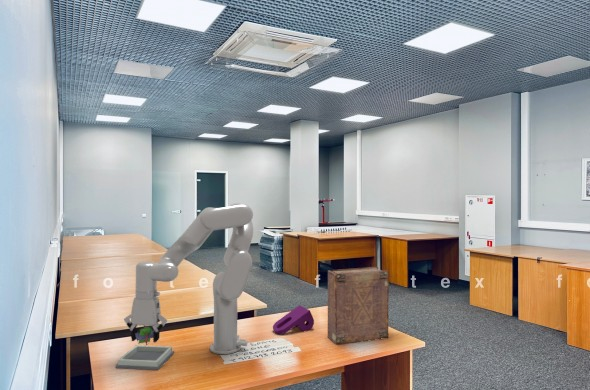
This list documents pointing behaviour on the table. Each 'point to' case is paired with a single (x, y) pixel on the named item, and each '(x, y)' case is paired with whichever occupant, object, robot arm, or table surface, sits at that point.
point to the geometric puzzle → (144, 335)
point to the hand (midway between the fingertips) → (145, 340)
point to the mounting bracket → (295, 321)
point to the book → (357, 304)
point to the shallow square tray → (145, 357)
